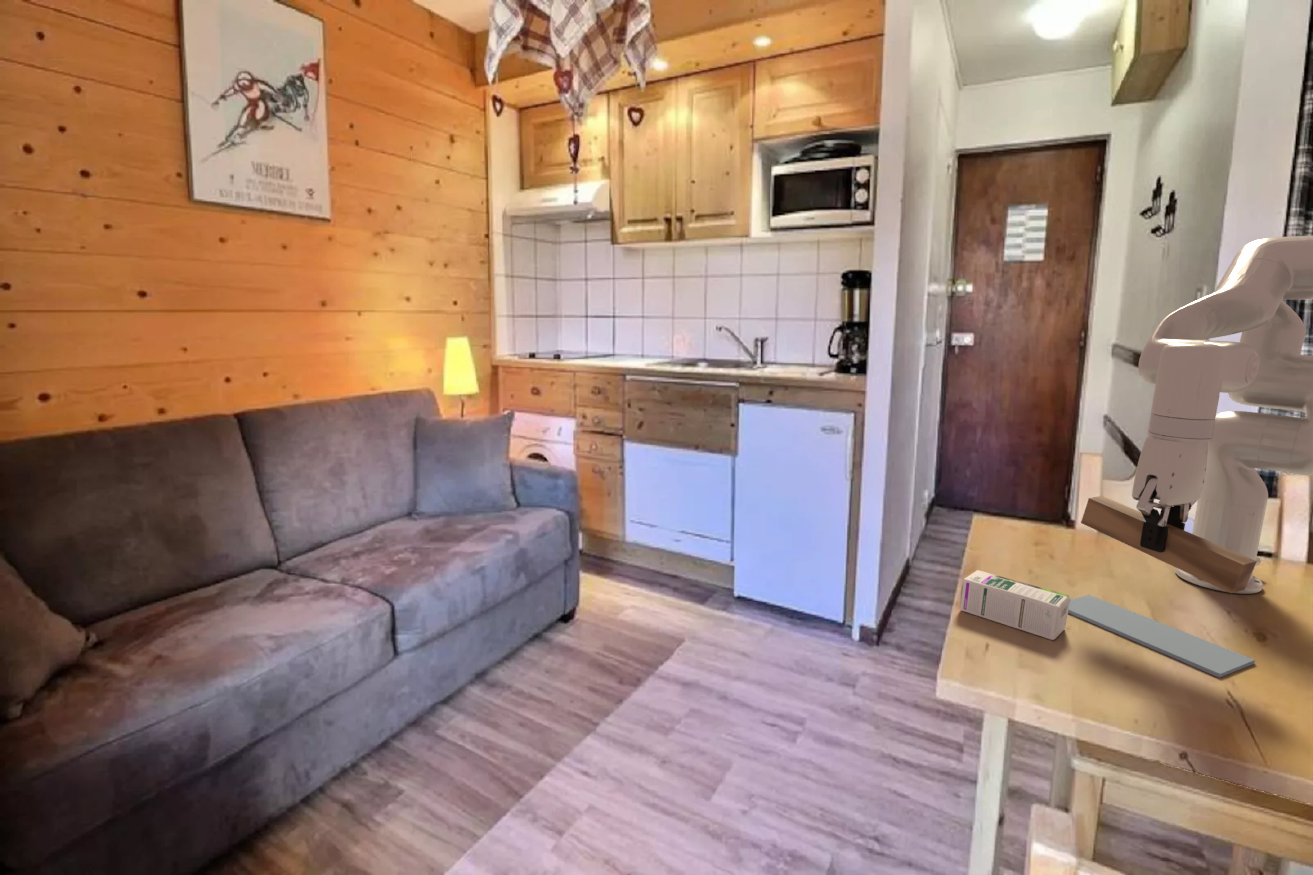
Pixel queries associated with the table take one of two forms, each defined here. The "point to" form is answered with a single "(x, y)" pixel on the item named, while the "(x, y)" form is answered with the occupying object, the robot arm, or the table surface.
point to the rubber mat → (1159, 636)
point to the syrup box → (1015, 604)
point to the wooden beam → (1172, 545)
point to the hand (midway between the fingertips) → (1160, 546)
